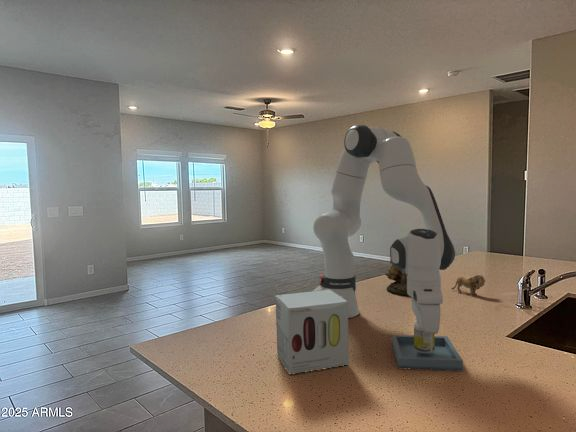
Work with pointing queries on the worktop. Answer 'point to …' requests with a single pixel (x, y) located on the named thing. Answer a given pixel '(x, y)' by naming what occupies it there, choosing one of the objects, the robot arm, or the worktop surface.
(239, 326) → the worktop surface
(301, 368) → the supplement box
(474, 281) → the lion figurine
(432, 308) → the robot arm
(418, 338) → the supplement bottle
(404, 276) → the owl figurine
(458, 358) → the tray
